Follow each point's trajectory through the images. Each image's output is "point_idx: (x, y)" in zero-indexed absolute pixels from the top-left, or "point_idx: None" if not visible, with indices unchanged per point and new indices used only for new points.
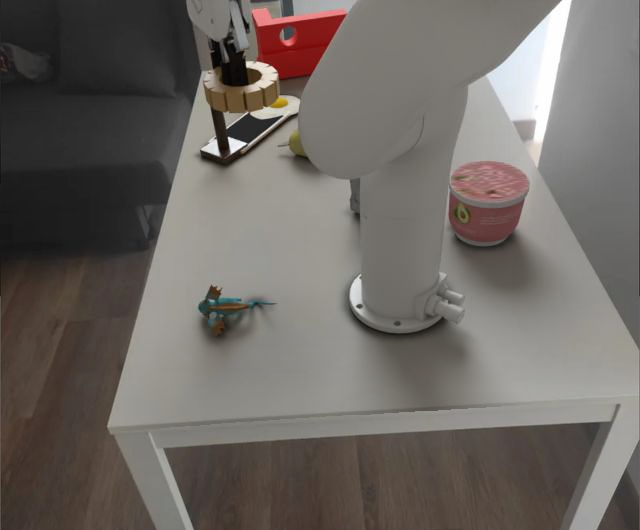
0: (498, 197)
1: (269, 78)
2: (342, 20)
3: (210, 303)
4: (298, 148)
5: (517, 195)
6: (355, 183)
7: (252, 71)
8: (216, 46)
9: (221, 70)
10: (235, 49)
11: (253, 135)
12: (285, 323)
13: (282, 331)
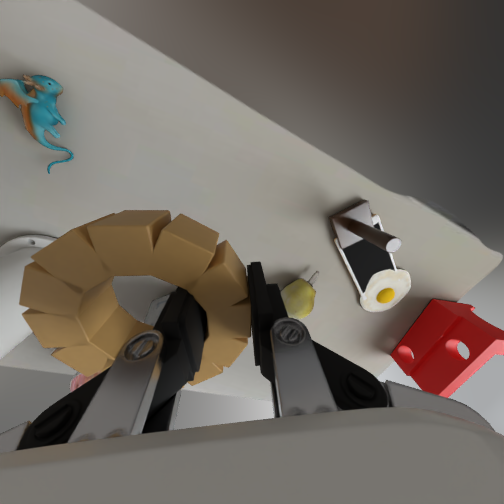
0: (76, 387)
1: None
2: (429, 392)
3: (38, 92)
4: (293, 285)
5: None
6: None
7: None
8: (264, 349)
9: (181, 300)
10: (7, 444)
11: (353, 258)
12: (32, 172)
13: (19, 164)
